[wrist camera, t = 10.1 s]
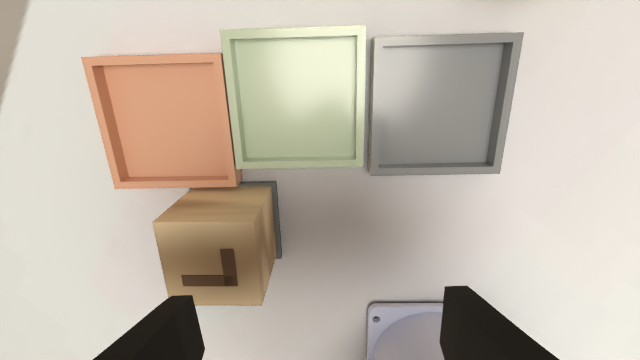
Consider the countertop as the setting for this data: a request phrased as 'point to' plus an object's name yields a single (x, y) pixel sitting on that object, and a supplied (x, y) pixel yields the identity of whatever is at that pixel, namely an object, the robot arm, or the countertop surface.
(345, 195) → the countertop surface
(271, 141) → the sage dish
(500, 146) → the charcoal dish
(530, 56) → the countertop surface
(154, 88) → the terracotta dish
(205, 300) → the letter cube
